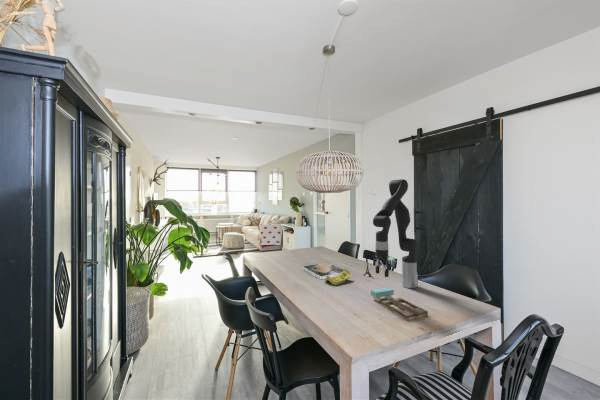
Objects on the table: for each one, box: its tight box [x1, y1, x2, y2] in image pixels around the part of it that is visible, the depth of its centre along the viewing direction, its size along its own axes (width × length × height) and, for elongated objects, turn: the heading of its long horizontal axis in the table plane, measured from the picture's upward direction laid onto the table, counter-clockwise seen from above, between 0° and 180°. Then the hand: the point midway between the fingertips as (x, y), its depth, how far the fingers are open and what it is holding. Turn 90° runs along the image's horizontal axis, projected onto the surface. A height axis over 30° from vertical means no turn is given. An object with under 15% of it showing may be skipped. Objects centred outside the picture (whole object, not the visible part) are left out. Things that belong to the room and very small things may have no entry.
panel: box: [370, 286, 395, 302], centre depth 163 cm, size 13×5×6 cm, turn 110°
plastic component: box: [324, 268, 352, 286], centre depth 198 cm, size 20×7×10 cm
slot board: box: [380, 297, 429, 321], centre depth 146 cm, size 14×20×2 cm
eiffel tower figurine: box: [363, 260, 372, 278], centre depth 211 cm, size 15×10×13 cm
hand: (381, 275), depth 163 cm, fingers open, 8 cm apart
